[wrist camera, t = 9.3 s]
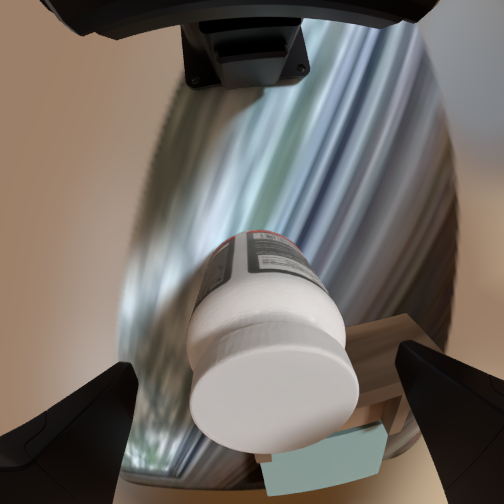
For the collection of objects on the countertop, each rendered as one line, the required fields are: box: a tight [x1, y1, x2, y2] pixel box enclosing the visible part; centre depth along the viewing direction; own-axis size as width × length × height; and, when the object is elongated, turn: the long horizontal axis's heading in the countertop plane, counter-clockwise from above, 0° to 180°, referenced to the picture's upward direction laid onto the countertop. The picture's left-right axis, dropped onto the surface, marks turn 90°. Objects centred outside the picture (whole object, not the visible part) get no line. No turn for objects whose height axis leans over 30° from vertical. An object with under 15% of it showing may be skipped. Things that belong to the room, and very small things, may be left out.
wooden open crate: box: [254, 313, 444, 463], centre depth 16 cm, size 10×12×6 cm
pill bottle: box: [186, 230, 359, 454], centre depth 11 cm, size 6×6×10 cm
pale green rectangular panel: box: [260, 420, 388, 496], centre depth 20 cm, size 1×12×9 cm
